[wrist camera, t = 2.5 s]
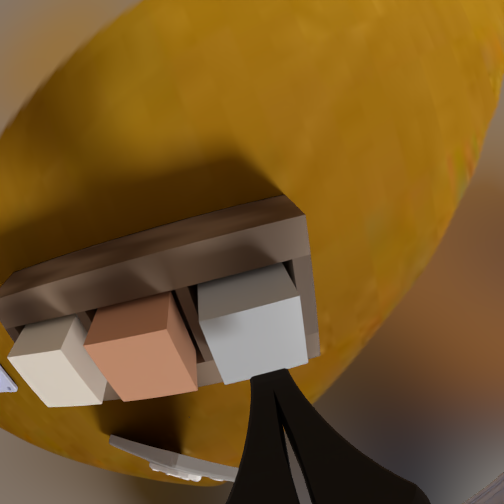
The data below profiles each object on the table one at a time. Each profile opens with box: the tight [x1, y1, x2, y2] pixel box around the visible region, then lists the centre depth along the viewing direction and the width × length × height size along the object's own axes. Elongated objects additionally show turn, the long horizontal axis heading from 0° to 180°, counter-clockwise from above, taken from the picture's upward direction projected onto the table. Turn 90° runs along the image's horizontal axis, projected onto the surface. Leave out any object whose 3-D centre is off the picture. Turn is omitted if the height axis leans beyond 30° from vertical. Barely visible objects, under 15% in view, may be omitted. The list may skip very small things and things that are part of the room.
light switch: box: [109, 417, 239, 482], centre depth 21 cm, size 8×6×14 cm
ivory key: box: [7, 313, 107, 407], centre depth 14 cm, size 4×4×3 cm
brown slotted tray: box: [0, 194, 320, 401], centre depth 16 cm, size 18×9×4 cm, turn 101°
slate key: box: [198, 262, 308, 385], centre depth 14 cm, size 4×4×3 cm
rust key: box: [83, 290, 198, 402], centre depth 14 cm, size 4×4×3 cm
